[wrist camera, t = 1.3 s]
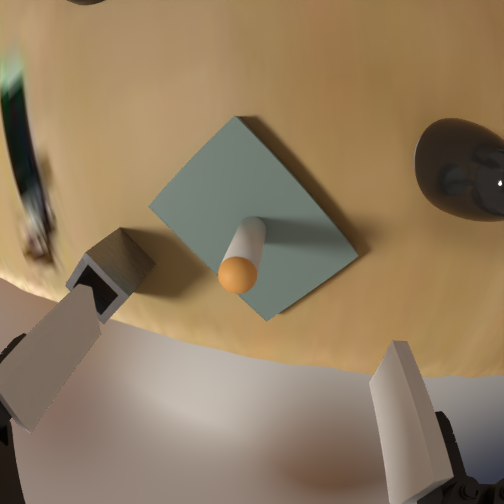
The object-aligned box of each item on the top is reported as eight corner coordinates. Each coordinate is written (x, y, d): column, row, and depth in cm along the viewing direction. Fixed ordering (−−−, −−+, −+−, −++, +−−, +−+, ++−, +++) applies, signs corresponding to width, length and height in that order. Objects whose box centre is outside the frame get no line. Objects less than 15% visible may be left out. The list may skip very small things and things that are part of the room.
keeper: (155, 201, 34) (91, 245, 21) (238, 116, 29) (203, 109, 16) (267, 312, 38) (257, 391, 26) (355, 248, 33) (387, 317, 21)
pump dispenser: (482, 151, 26) (567, 178, 12) (445, 217, 30) (518, 275, 16) (426, 98, 25) (512, 92, 11) (386, 171, 29) (455, 210, 15)
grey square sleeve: (97, 258, 38) (65, 285, 31) (119, 227, 36) (85, 252, 28) (130, 292, 40) (103, 324, 32) (156, 264, 37) (129, 296, 30)
